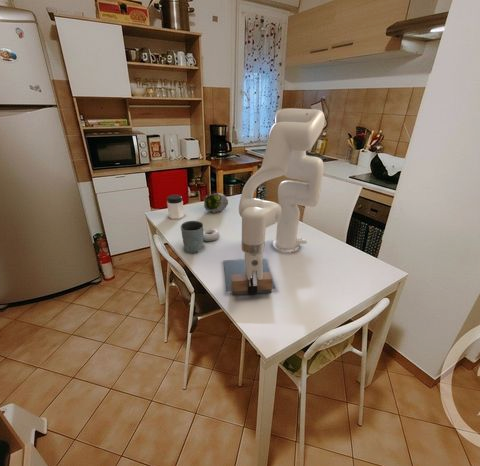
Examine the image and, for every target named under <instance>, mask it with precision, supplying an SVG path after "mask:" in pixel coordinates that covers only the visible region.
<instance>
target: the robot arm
mask: <svg viewBox="0 0 480 466" xmlns="http://www.w3.org/2000/svg"><path fill="white" fill-rule="evenodd" d="M325 119H326V117H325V113H324V112H323V111H322V110H321V109H317V108H294V107H293V108H292V107H291V108H289V107H288V108H281V109H279V110H277V112H276V113H275V116H274V122H275V123H274V124H273V125H272V126H271V128H270V131H269V135H268V139H267V144H266V147H265V151H264V155H263V156H264V157H263V158H262V163H261V166H260V168H259V169H258V170H256V171H255V172H254V173H253V174H252V175H251V176H250V177H249V178H248V179H247V181H246V183H245V184H244V186H243V188H242V191H241V195H240V199H239V202H238V203H239V204H238V214H239V216H240V218H241V245H240V246H241V251H242V252H243V253H244V259H245V269H246V274H247V278H248V280H249V284H248V294H247V295H256V294H258V293H257V277H258V279H259V280H261V279H262V259H263V252H265V246H266V245H265V244H266V228H269V227H271V226H273V225H275V224H276V233H275V234H276V236H275V239H274V240H273V241H272V242H271V244H272V246H273V247H274V248H275V249H276V250H279V251H281V252H290V253H295V252H297V251H298V250H299V249H300V245H303V244H305V245H306V244H307V242H308V240H307V239H303V237H298V232H299V225H300V218H301V217H300V216H301V213H300V209H299V206H303V207H307V208H313V207H316V206H318V203H319V201H320V197H321V191H322V183H323V177H324V169H325V168H324V167H325V166H324V161H323V159H322V158H321V157H318V156H313V155H307V151H309V150H311V149H312V148H313V147H314V146H315V144H316V142H317V140H318V138H319V137H320V135H321V133H322V131H323V129H324V127H325V123H326V122H325V121H326V120H325ZM283 176H284V177H285V178H288V179H289V180H283V181H281V182H280V183H279V185H278V186H277V187H278V188H277V200H278V201H277V202H278V203H277V202H274V201H270V200H266V199H265V200H264V199H259V198H254V194H255V192H256V189H257V188H258V187H259V186H261V185H262V184H263V183H265V182H267V181H270V180H273V179H277V178H281V177H283ZM290 179H292V180H290ZM297 180H298V181H297ZM299 180H300V181H299ZM303 181H305V182H303ZM251 280H253V282H251Z"/></svg>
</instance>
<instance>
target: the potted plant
mask: <svg viewBox="0 0 480 466" xmlns="http://www.w3.org/2000/svg"><path fill="white" fill-rule="evenodd" d="M228 205H229V200H228V197H227V196H225V194H223V193H221V192H219V193H217V192H216V193H215V192H214V193H211V194H207V195H206V196H205V197H204V201H203V208H204V209H205V210H206V211H209V212H212V213H213V214H217V213H219V212H223V211H224V210H225V209H226V208H227V206H228Z"/></svg>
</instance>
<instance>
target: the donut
mask: <svg viewBox="0 0 480 466" xmlns="http://www.w3.org/2000/svg"><path fill="white" fill-rule="evenodd" d="M219 236H220V233H219V231H218V230H217V229H215V228H211V227H210V228H203V242H214V241H216V240H217V239H218V238H219Z"/></svg>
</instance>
